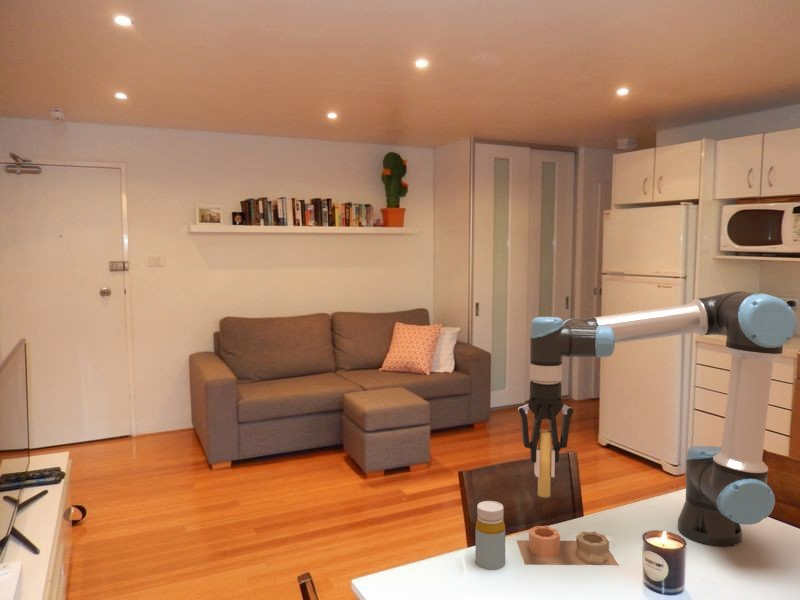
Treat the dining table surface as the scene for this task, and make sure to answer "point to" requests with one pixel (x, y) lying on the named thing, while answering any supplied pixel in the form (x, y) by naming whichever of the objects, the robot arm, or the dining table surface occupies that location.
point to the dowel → (544, 463)
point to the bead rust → (544, 541)
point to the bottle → (490, 535)
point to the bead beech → (592, 547)
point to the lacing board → (563, 558)
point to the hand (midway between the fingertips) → (544, 474)
